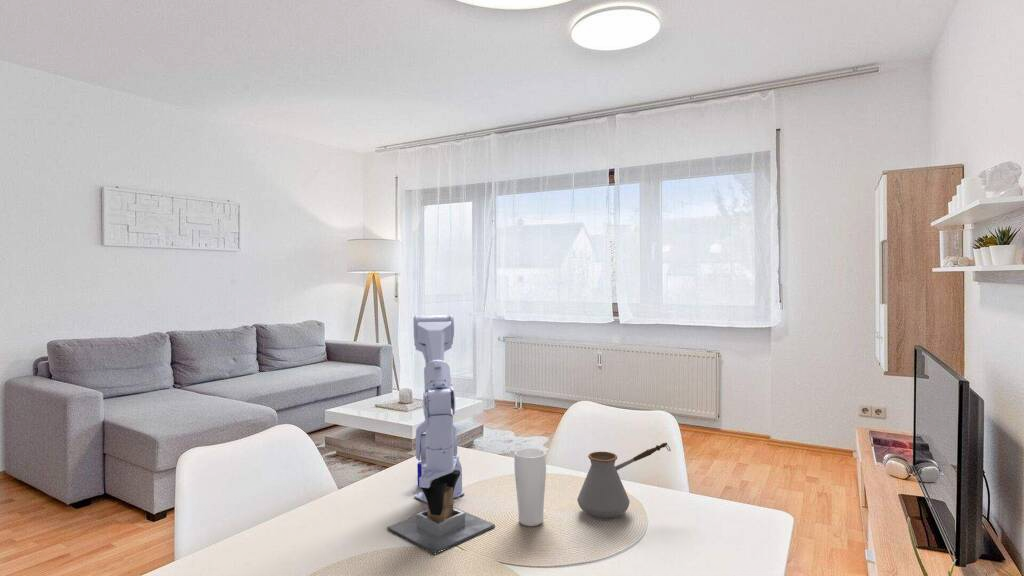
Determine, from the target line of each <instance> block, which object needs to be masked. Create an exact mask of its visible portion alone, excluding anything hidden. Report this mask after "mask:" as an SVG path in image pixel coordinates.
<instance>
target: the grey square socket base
mask: <svg viewBox="0 0 1024 576" xmlns="http://www.w3.org/2000/svg"><path fill="white" fill-rule="evenodd" d="M495 525H496V524H495V523H492V522H490V521H488V520H485V519H483V518H481V517H478V516H476V515H473V514H471V513H469V512H466V511H465V510H463V509H460V508H457V507H456V506H453V516H452V517H450V518H447V519H445V520H442V521H440V522H437V521H435V520H433V519H431V518H429V517H428V509H426V510H423V511H421V512H418V513H416V515H414V516H412V517H409V518H406V519H404V520H401V521H399V522H395V523H394V524H391V525H388V526H387V527H386V529H387V531H389V532H391V533H393V534H395V535H397V536H399V537H400V538H402V539H404V540H406V541H407V542H409V543H411V544H414V545H415V546H417V547H419V548H420V549H423V548H424V549H423V550H425V549H426V550H428V551H430V552H432V553H434V554H435V553H438V552H439V551H441V550H444V549H446V550H448V549H447V548H449V549H451V548H453V547H456V546H457V545H459V544H462V543H464V542H466V541H468V540H471V539H472V538H475V537H477V536H479V535H480V534H481V535H482V533H486V532H487V531H490V530H491V529H494V528H495V527H496V526H495ZM426 550H425V551H426ZM428 551H427V552H428ZM444 551H445V550H444ZM430 552H429V553H430ZM432 553H431V554H432ZM434 554H433V555H434ZM438 554H439V553H438Z"/></svg>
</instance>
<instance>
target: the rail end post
mask: <svg viewBox="0 0 1024 576" xmlns="http://www.w3.org/2000/svg"><path fill="white" fill-rule="evenodd" d="M426 503H427V505H426V506H427V510H428V517H429V518H431V519H433V520H435V521H437V522H440V521H442V520H445V519H447V518H450V517H452V516H453V507H454V499H453V487H448V486H446V488H445V491H444V495H443V504H442V512H441V515H439V516H438V515H431V513H430V510H429V506H428V502H426Z"/></svg>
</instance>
